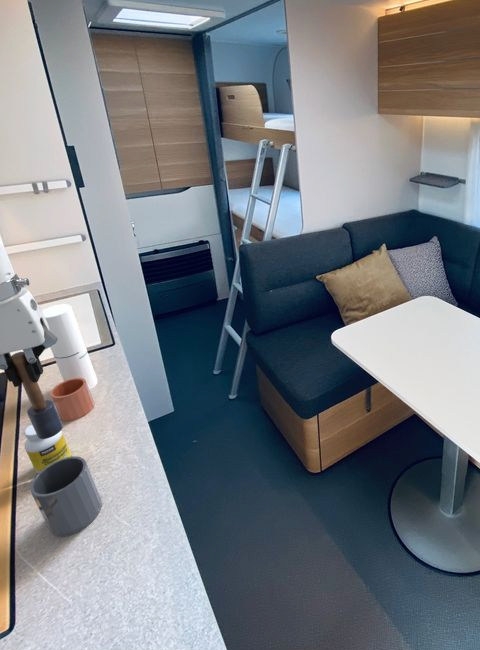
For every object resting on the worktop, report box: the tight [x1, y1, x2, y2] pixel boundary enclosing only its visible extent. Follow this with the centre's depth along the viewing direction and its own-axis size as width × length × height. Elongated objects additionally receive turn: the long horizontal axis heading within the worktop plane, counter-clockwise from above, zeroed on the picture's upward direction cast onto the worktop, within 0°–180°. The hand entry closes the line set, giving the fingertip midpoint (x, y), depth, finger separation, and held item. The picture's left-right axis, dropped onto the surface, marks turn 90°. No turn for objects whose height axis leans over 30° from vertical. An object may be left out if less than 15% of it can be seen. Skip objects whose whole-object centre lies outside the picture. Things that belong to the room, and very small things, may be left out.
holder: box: [49, 378, 95, 422], centre depth 106 cm, size 8×8×8 cm
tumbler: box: [29, 455, 103, 538], centre depth 79 cm, size 9×9×11 cm
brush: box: [11, 351, 64, 439], centre depth 76 cm, size 4×4×18 cm
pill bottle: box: [24, 423, 72, 475], centre depth 90 cm, size 6×6×12 cm
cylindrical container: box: [41, 303, 98, 390], centre depth 112 cm, size 7×7×25 cm
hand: (28, 379), depth 75 cm, fingers closed on brush, 2 cm apart
